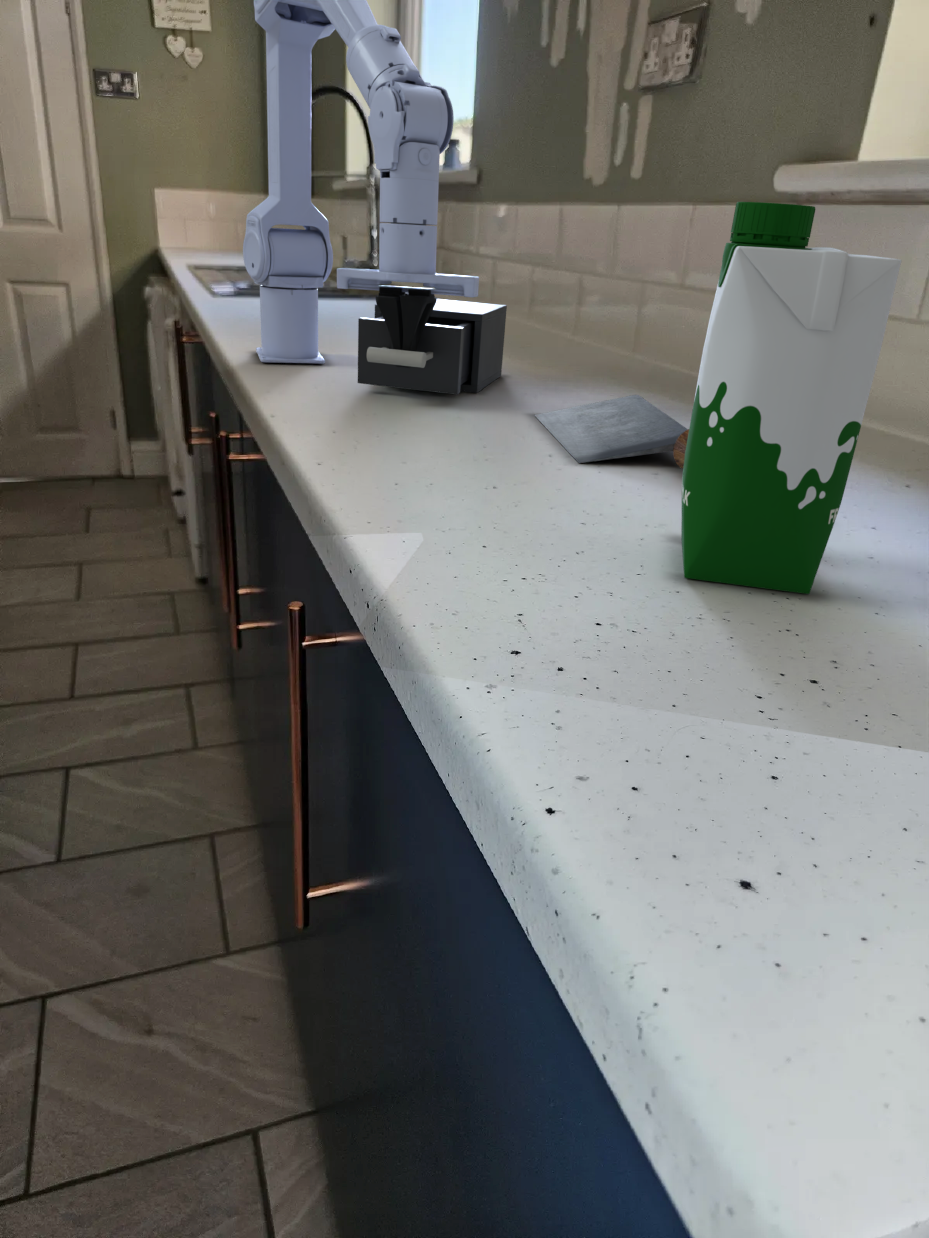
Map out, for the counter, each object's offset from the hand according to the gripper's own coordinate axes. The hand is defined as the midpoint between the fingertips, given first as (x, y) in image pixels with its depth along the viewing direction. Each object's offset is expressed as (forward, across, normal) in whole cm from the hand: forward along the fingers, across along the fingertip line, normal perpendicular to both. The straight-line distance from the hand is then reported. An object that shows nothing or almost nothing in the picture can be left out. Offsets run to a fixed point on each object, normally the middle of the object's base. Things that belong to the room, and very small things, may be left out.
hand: (405, 366), depth 92 cm
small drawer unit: (+3, 0, +16) cm, 16 cm away
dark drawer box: (+3, 0, +6) cm, 7 cm away
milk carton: (+5, +34, -37) cm, 50 cm away
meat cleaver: (+5, +25, -13) cm, 29 cm away
